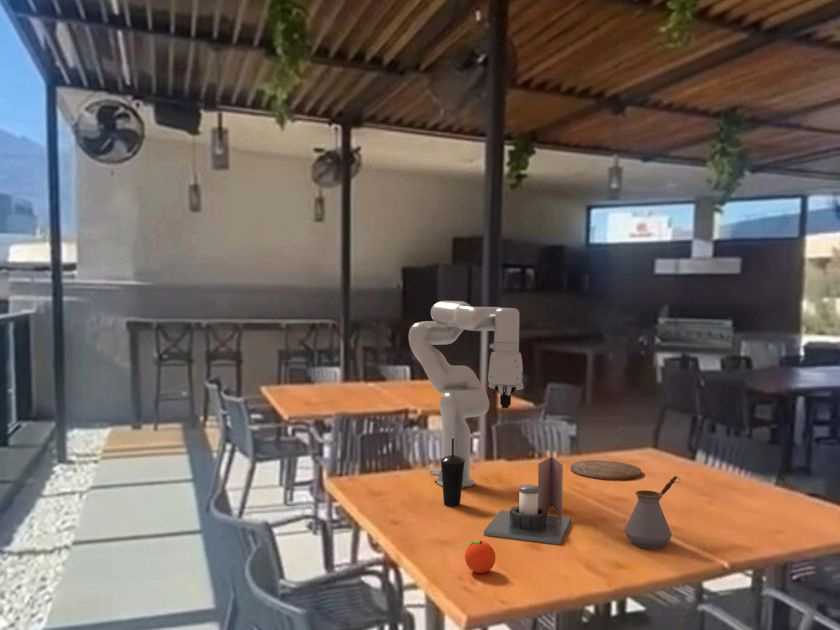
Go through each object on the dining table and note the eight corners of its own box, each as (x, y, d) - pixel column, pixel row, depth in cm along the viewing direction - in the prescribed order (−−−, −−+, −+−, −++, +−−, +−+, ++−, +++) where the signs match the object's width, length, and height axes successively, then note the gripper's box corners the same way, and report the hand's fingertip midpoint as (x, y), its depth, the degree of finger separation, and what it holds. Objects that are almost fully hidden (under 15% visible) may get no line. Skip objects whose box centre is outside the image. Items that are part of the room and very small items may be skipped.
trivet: (630, 485, 240) (630, 479, 240) (560, 474, 253) (560, 469, 253) (649, 471, 261) (649, 466, 261) (583, 462, 274) (583, 457, 274)
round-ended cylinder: (517, 525, 189) (517, 488, 189) (520, 520, 194) (520, 484, 194) (536, 527, 187) (537, 490, 187) (539, 522, 192) (539, 485, 192)
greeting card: (548, 505, 213) (549, 456, 213) (572, 509, 209) (572, 459, 209) (534, 514, 203) (535, 463, 203) (559, 519, 199) (560, 466, 199)
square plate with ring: (483, 535, 184) (483, 517, 184) (500, 514, 203) (501, 497, 203) (560, 544, 178) (560, 526, 178) (570, 522, 196) (571, 505, 196)
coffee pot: (657, 554, 172) (658, 493, 171) (615, 542, 180) (616, 484, 180) (696, 535, 186) (698, 479, 186) (656, 525, 195) (657, 471, 194)
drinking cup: (468, 502, 214) (469, 437, 214) (459, 509, 207) (460, 442, 207) (445, 499, 217) (446, 435, 217) (435, 506, 210) (436, 439, 210)
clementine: (456, 574, 157) (456, 543, 157) (465, 564, 164) (465, 533, 164) (490, 580, 154) (491, 547, 154) (498, 569, 161) (499, 538, 161)
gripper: (479, 348, 214) (478, 407, 215) (528, 349, 209) (527, 411, 210) (485, 346, 221) (484, 404, 222) (532, 348, 216) (531, 407, 217)
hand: (505, 407), depth 216 cm, fingers closed
